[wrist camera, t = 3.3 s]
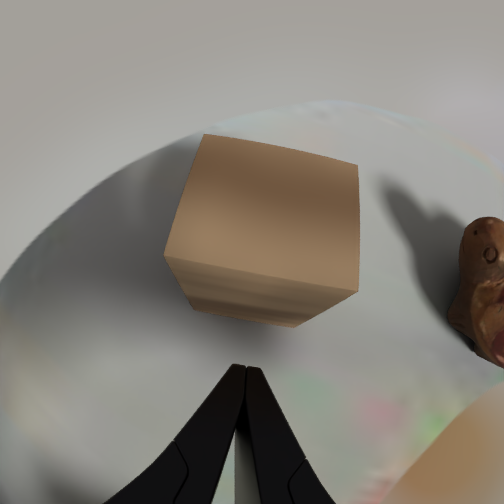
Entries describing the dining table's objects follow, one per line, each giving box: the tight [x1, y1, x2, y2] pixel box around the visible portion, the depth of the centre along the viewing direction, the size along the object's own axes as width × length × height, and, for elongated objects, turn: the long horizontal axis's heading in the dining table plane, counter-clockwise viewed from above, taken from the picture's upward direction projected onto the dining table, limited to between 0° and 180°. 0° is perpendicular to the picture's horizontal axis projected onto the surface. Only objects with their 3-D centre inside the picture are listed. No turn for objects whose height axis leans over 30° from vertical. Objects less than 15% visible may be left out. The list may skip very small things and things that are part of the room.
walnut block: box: [163, 134, 360, 328], centre depth 14 cm, size 5×6×9 cm
